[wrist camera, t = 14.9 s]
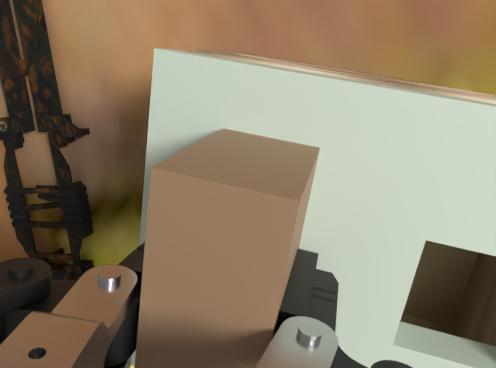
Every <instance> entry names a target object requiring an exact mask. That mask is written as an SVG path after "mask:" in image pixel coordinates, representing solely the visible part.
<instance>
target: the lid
mask: <svg viewBox="0 0 496 368" xmlns="http://www.w3.org/2000/svg"><path fill="white" fill-rule="evenodd" d="M426 240H427V241H431V242H436V243H440V244H444V245H449V246H453V247H457V248H462V249H466V250H470V251H475V252H479V253H483V254H488V255H492V256H496V104H493V103H487V102H481V101H475V100H469V99H463V98H458V97H452V96H446V95H440V94H434V93H428V92H422V91H416V90H410V89H405V88H399V87H393V86H387V85H381V84H375V83H369V82H363V81H358V80H352V79H346V78H340V77H334V76H328V75H322V74H316V73H311V72H305V71H299V70H293V69H287V68H281V67H275V66H269V65H263V64H258V63H252V62H246V61H240V60H234V59H228V58H222V57H216V56H211V55H205V54H199V53H193V52H187V51H181V50H175V49H159V48H154V59H153V72H152V84H151V97H150V110H149V123H148V136H147V149H146V162H145V175H144V188H143V201H142V214H141V226H140V239H139V246H140V245H141V244H143V243H144V241H145V247H144V260H143V272H142V284H141V296H140V308H139V320H138V333H137V345H136V350H135V351H134V353H133V354H132V355H131V365H133V366H135V368H245V367H247V366H250V367H252V368H255V367H256V365H257V364H258V362H259V360H260V359H261V357H262V356H263V354H264V352H265V351H266V349H267V347H268V346H269V344H270V342H271V341H272V339H273V338H274V333H275V329H276V324H277V319H278V314H279V310H280V306H281V303H282V299H283V296H284V293H285V289H286V286H287V283H288V279H289V276H290V273H291V269H292V266H293V262H294V259H295V256H296V252H297V249H298V248H299V249H303V250H307V251H311V252H315V253H319V254H318V260H317V266H316V269H319V270H323V271H327V272H331V273H333V275H334V276H335V278H336V280H337V281H338V283H339V286H338V300H337V315H336V330H335V333H336V335H337V337H338V342H339V343H338V345H339V347H340V348H341V349H342V350H343V351H344V353H346V354H347V355H348V356H349V357H350V358H352V359H353V360H355V361H357V362H358V363H360V364H362V365H364V366H366V367H368V368H371V366H372V365H373V364H374V363H376V362H378V361H381V360H393V361H398V362H401V363H404V364H407V365H409V366H411V367H413V368H496V347H495V346H491V345H488V344H484V343H480V342H476V341H472V340H469V339H465V338H461V337H457V336H454V335H450V334H446V333H442V332H439V331H435V330H431V329H427V328H424V327H420V326H416V325H412V324H409V323H405V322H401V321H400V320H401V317H402V314H403V311H404V308H405V304H406V301H407V298H408V295H409V292H410V289H411V286H412V282H413V279H414V276H415V273H416V270H417V267H418V264H419V260H420V257H421V254H422V251H423V248H424V245H425V242H426Z"/></svg>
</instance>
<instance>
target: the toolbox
mask: <svg viewBox="0 0 496 368" xmlns="http://www.w3.org/2000/svg"><path fill="white" fill-rule="evenodd" d="M191 52H193V53H199V54H205V55H211V56H216V57H222V58H228V59H234V60H240V61H246V62H252V63H258V64H263V65H269V66H275V67H281V68H287V69H293V70H299V71H305V72H311V73H316V74H322V75H328V76H334V77H340V78H346V79H352V80H358V81H363V82H369V83H375V84H381V85H387V86H393V87H399V88H405V89H410V90H416V91H422V92H428V93H434V94H440V95H446V96H452V97H458V98H463V99H469V100H475V101H481V102H487V103H493V104H496V95H492V94H486V93H480V92H474V91H468V90H462V89H456V88H450V87H444V86H438V85H432V84H425V83H419V82H413V81H407V80H401V79H395V78H389V77H383V76H377V75H371V74H365V73H359V72H353V71H347V70H341V69H335V68H329V67H323V66H317V65H311V64H305V63H298V62H292V61H286V60H280V59H274V58H268V57H262V56H256V55H250V54H244V53H238V52H224V51H205V50H191ZM400 321H401V322H405V323H409V324H412V325H416V326H420V327H424V328H427V329H431V330H435V331H439V332H442V333H446V334H450V335H454V336H457V337H461V338H465V339H469V340H472V341H476V342H480V343H484V344H488V345H491V346H495V347H496V256H492V255H488V254H483V253H479V252H475V251H470V250H466V249H462V248H457V247H453V246H449V245H444V244H440V243H436V242H431V241H427V240H426V242H425V245H424V248H423V251H422V254H421V257H420V260H419V264H418V267H417V270H416V273H415V276H414V279H413V282H412V286H411V289H410V292H409V295H408V298H407V301H406V304H405V308H404V311H403V314H402V317H401V320H400Z"/></svg>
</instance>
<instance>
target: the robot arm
mask: <svg viewBox="0 0 496 368" xmlns="http://www.w3.org/2000/svg"><path fill="white" fill-rule="evenodd" d="M144 247H145V241H144V243H143V244H141V245H140V246H139V247H138V248H137V250H134V251H133V252H132V253H131V254H130V255H128V256H127V257H126V258H125V259H124V260H123V261H122V262H120V263H119V264H118V265H101V266H97V267H94V268H91V269H89V270H88V271H86V272H85V273H84V274H83V275H82V276H81V278H80V279H79V280H78V281H73V280H59V279H51V267H50V265H49V264H48V263H47V262H45V261H43V260H40V259H35V258H17V259H11V260H7V261H4V262H1V263H0V368H130V366H131V355H132V354H133V353H134V351H135V350H136V345H137V333H138V320H139V308H140V296H141V284H142V272H143V260H144ZM318 254H319V253H315V252H311V251H307V250H303V249H299V248H298V249H297V252H296V256H295V259H294V262H293V266H292V269H291V273H290V276H289V279H288V283H287V286H286V289H285V293H284V296H283V299H282V303H281V306H280V310H279V314H278V319H277V324H276V329H275V333H274V338H273V339H272V341H271V342H270V344H269V346H268V347H267V349H266V351H265V352H264V354H263V356H262V357H261V359H260V360H259V362H258V364H257V365H256V367H255V368H368V367H366V366H364V365H362V364H360V363H358V362H357V361H355V360H353V359H352V358H350V357H349V356H348V355H347V354H346V353H344V351H343V350H342V349H341V348H340V347H339V345H338V343H339V342H338V337H337V335H336V333H335V330H336V315H337V300H338V286H339V283H338V281H337V280H336V278H335V276H334V275H333V273H331V272H327V271H323V270H319V269H316V266H317V260H318ZM245 368H252V367H250V366H247V367H245ZM371 368H413V367H411V366H409V365H407V364H404V363H401V362H398V361H393V360H381V361H378V362H376V363H374V364H373V365H372V366H371Z"/></svg>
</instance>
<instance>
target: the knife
mask: <svg viewBox="0 0 496 368" xmlns="http://www.w3.org/2000/svg"><path fill="white" fill-rule="evenodd" d="M13 3H14V8H15V12H16V17H17V22H18V27H19V32H20V37H21V42H22V47H23V52H24V57H25V59H21V56H20V51H19V46H18V41H17V36H16V32H15V27H14V22H13V17H12V12H11V7H10V2H9V0H0V83H1V87H2V92H3V96H4V101H5V106H6V110H7V115H8V117H5V118H0V139H3V141H4V145H5V148H6V154H5V163H4V170H5V174H6V178H7V183H8V185H7V187H6V189H4V192H5V194H7V198H6V200H7V202H9V206H8V209H9V210H11V214H10V217H11V219H13V222H12V226H13V227H15V232H16V236H17V239H18V241H19V242H20V243H21V244H22V246H23V248H24V250H25V252H26V253H27V255H28V256H29V257H30V258H35V259H40V260H43V261H45V262H47V259H57V260H73V264H74V265H68V264H51V263H48V262H47V263H48V264H49V265H50V267H51V279H59V280H73V281H78V280H79V279H80V278H81V276H82V275H83V274H84V273H85V272H86V271H88V270H89V269H91V268H94V266H93V261H88V260H82V261H80V256H79V253H80V248H81V243H82V238H86V237H87V236H89V235H90V234H92V233H93V227H92V223H93V222H92V219H91V211H90V210H89V207H90V205H89V203H88V194H87V193H86V190H87V188H86V186H85V185H84V184H83V183H82V182H81V181H78V182H76V183H74V184H73V183H72V178H71V172H70V167H69V165H68V163H67V161H66V160H65V158H64V156H63V155H62V153H61V151H60V150H59V148H62V147H65V146H67V143H70V142H73V141H75V138H74V137H81V136H85V134H90V132H89V128H86V129H79V128H78V127H76V126H75V125H74V124H72V121H71V115H70V114H62V108H61V103H60V98H59V92H58V87H57V82H56V76H55V71H54V65H53V60H52V55H51V49H50V44H49V39H48V33H47V28H46V22H45V17H44V12H43V6H42V1H41V0H13ZM24 74H28V77H29V81H30V86H31V91H32V96H33V101H34V106H35V111H36V112H35V115H36V120H37V125H38V130H39V132H48V131H49V132H52V133H48V137H49V142H50V147H51V152H52V157H53V162H54V168H55V173H56V178H57V183H58V186H41V185H36V188H22V184H21V179H20V175H19V170H18V166H17V161H16V157H15V152H14V149H17V148H21V147H23V144H22V143H24V138H23V133H22V132H30V131H34V130H35V127H34V122H33V114H32V110H31V105H30V100H29V95H28V90H27V85H26V80H25V75H24ZM44 192H49V193H53V194H58V195H60V197H58V196H54V195H50V194H38V198H41V199H45V200H49V201H53V203H43V204H33V205H26V201H27V199H26V197H24V194H28V193H44ZM57 207H61V211H62V212H63V213H64V215H63V220H65V222H35V221H30V220H29V218H30V213H28V210H38V209H47V208H57ZM31 227H39V228H67V233H68V238H69V243H70V248H71V253H72V254H64V250H63V248H60V249H58V250H57V251H55V252H54V253H44V252H37V251H36V247H35V242H34V238H33V233H32V229H31Z"/></svg>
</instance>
